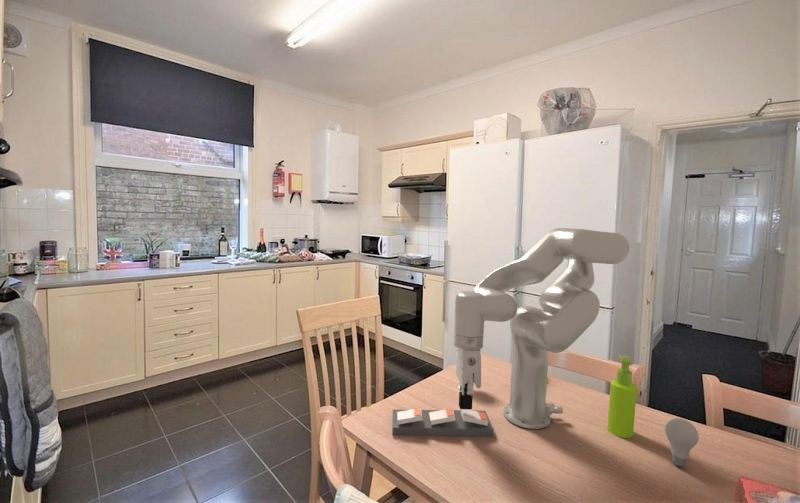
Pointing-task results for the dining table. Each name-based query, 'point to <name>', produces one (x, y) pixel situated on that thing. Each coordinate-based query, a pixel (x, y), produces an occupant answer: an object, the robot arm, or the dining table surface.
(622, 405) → the soap dispenser
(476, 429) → the strip
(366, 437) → the dining table surface
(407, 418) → the block
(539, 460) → the dining table surface
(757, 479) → the dining table surface
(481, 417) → the rocker
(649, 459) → the dining table surface
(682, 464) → the lightbulb
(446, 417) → the rocker middle
